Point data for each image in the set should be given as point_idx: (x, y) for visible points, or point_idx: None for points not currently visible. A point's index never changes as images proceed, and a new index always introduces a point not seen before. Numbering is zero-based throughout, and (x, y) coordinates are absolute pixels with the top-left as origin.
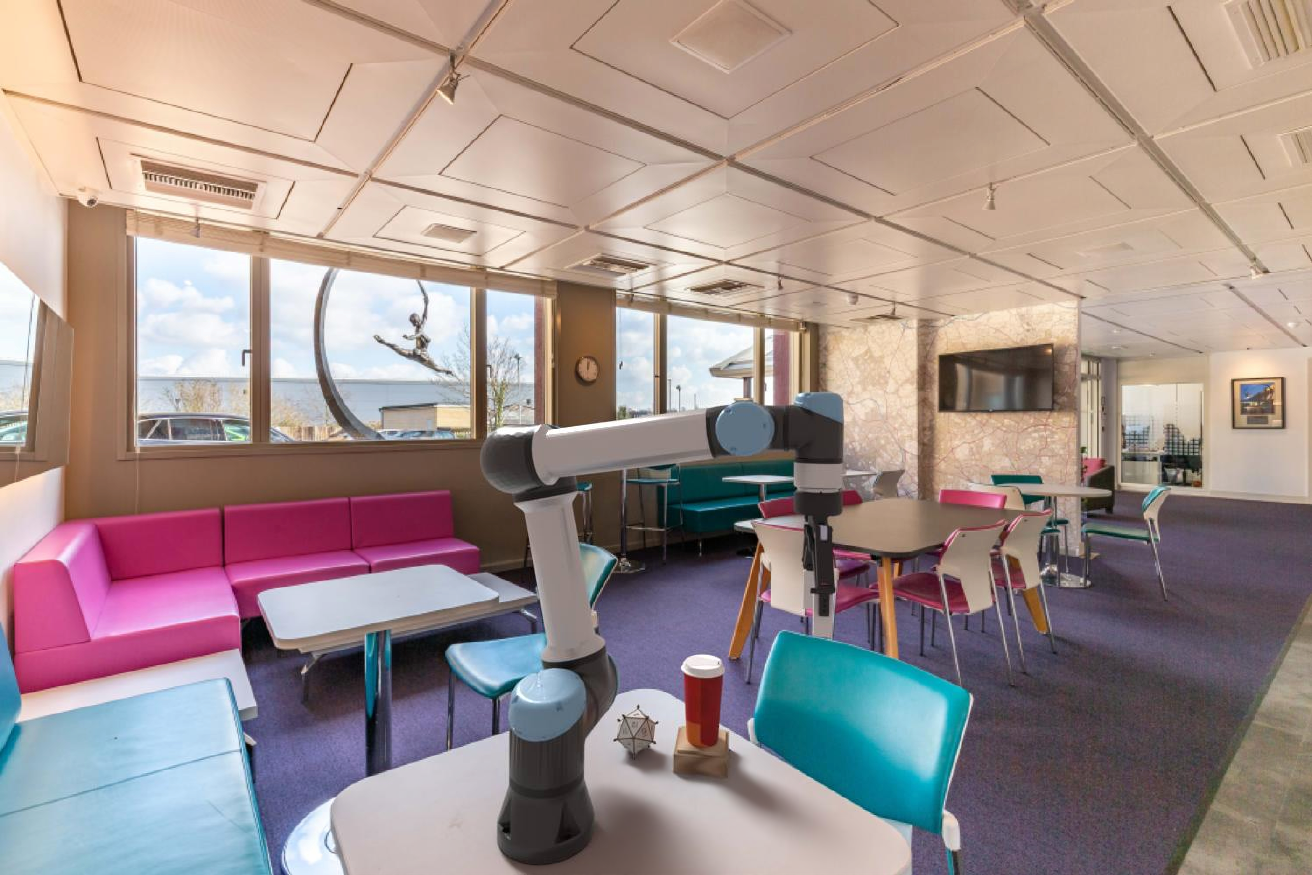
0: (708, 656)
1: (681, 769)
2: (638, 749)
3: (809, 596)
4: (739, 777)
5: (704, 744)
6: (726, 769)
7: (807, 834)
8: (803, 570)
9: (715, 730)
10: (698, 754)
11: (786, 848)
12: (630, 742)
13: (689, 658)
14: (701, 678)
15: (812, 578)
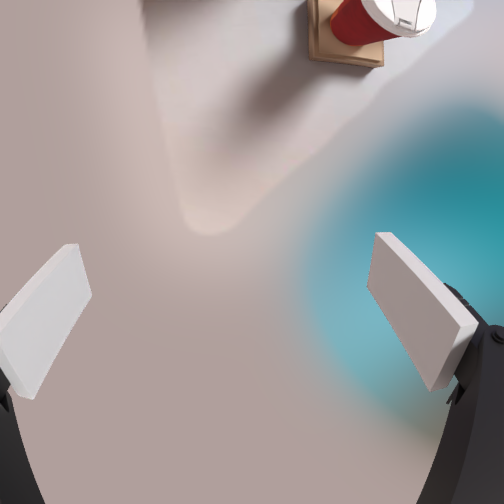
0: (430, 11)
1: (308, 6)
2: None
3: (393, 279)
4: (311, 74)
5: (331, 26)
6: (310, 56)
7: (212, 146)
8: (472, 324)
9: (344, 37)
10: (318, 20)
11: (185, 123)
12: None
13: None
14: None
15: (425, 340)
